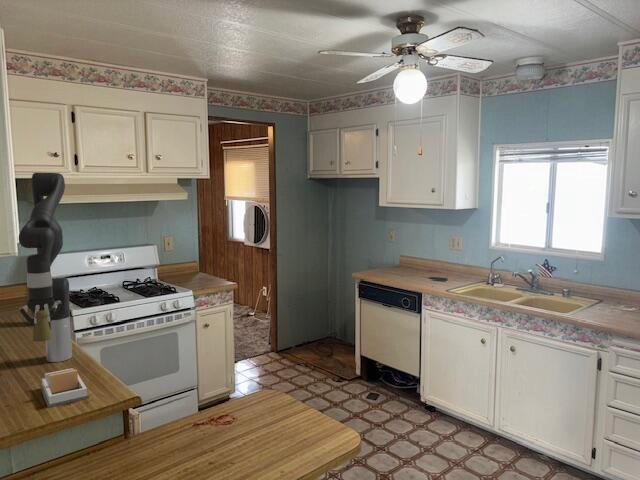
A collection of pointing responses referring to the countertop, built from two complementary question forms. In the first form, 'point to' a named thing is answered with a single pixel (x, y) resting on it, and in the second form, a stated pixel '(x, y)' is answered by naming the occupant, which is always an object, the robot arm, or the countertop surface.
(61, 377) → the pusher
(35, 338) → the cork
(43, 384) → the white walled tray
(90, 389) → the countertop surface
